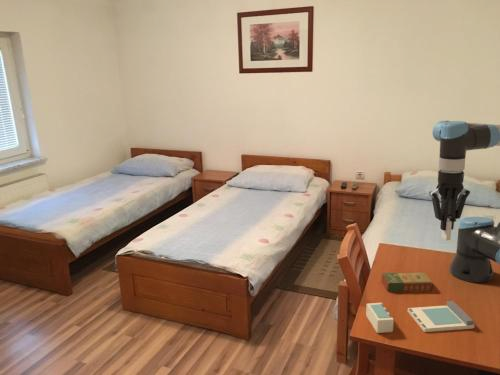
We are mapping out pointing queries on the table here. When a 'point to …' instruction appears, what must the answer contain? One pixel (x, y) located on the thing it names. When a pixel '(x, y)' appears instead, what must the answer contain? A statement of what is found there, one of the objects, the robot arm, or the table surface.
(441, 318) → the cream teal-inset panel
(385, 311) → the stub
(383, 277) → the carton
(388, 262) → the table surface
